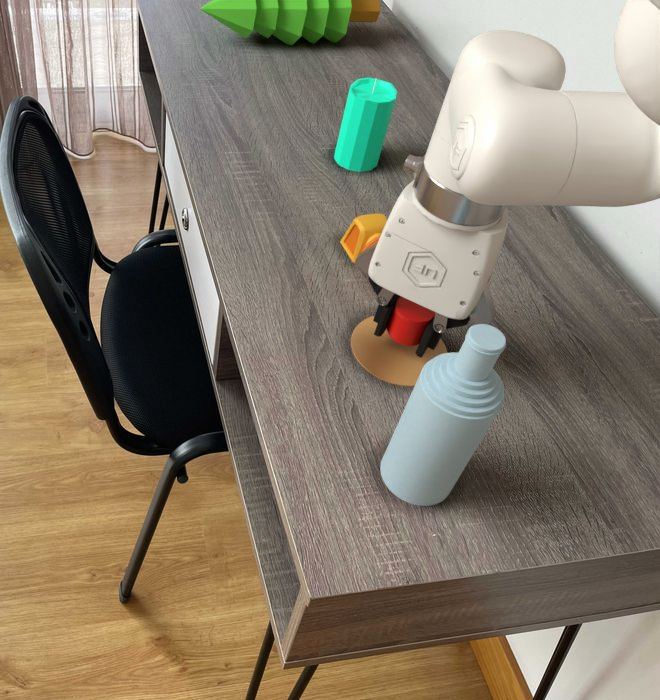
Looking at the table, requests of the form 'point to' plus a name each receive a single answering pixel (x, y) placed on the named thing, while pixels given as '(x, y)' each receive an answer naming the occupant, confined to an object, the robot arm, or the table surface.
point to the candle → (365, 124)
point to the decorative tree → (293, 17)
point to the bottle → (445, 419)
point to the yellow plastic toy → (363, 234)
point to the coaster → (389, 355)
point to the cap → (408, 322)
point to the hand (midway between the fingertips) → (403, 337)
